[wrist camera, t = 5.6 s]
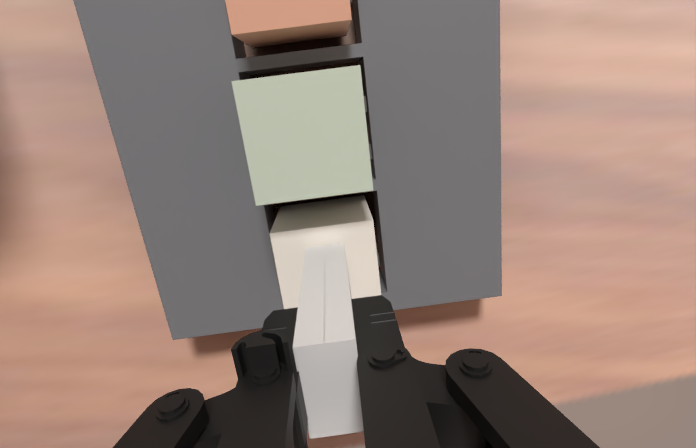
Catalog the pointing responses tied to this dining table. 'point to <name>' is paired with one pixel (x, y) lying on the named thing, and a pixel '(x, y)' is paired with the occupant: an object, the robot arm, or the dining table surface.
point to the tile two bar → (305, 134)
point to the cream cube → (326, 243)
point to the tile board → (256, 221)
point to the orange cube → (287, 20)
